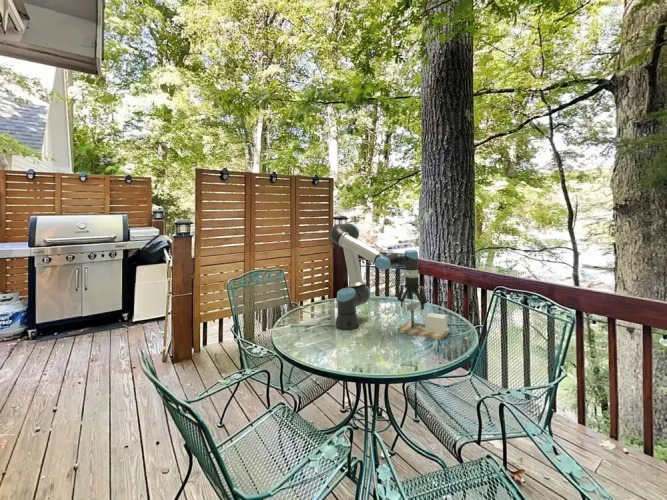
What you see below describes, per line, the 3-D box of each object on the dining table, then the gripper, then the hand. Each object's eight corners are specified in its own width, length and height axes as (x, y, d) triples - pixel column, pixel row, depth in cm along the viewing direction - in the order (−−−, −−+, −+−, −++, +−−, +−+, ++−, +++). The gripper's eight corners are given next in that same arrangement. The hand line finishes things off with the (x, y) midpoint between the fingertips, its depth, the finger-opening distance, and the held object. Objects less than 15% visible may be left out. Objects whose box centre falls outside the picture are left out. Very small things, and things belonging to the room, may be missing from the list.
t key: (407, 327, 198) (406, 305, 196) (412, 323, 204) (412, 302, 203) (423, 330, 192) (423, 307, 191) (428, 326, 199) (427, 304, 197)
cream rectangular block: (420, 330, 194) (420, 315, 193) (424, 326, 200) (424, 312, 199) (443, 334, 186) (442, 318, 185) (446, 330, 192) (446, 315, 191)
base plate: (397, 332, 198) (397, 328, 198) (407, 325, 210) (406, 321, 210) (442, 340, 184) (442, 336, 183) (449, 332, 195) (449, 328, 195)
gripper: (391, 276, 200) (392, 312, 203) (428, 279, 187) (429, 318, 190) (396, 274, 206) (397, 309, 209) (433, 276, 193) (433, 314, 196)
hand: (412, 313), depth 199 cm, fingers open, 10 cm apart
